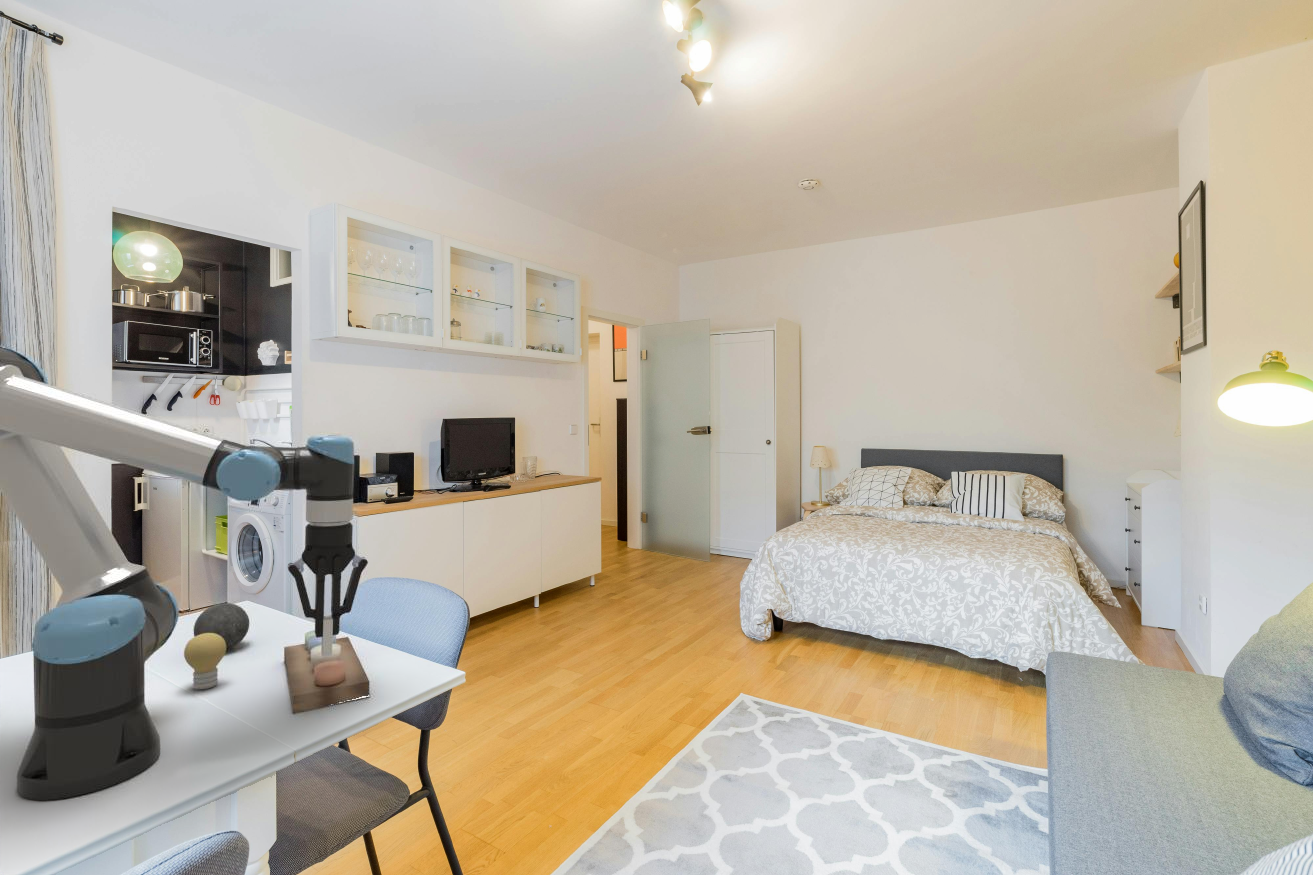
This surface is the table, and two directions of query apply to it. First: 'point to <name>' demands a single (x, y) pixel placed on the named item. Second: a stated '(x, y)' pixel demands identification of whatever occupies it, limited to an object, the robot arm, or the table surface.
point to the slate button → (317, 642)
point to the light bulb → (205, 658)
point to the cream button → (318, 658)
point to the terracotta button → (329, 673)
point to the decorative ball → (224, 623)
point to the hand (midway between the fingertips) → (326, 653)
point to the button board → (316, 696)
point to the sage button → (308, 635)
